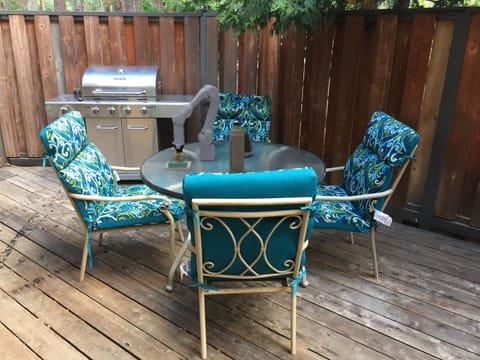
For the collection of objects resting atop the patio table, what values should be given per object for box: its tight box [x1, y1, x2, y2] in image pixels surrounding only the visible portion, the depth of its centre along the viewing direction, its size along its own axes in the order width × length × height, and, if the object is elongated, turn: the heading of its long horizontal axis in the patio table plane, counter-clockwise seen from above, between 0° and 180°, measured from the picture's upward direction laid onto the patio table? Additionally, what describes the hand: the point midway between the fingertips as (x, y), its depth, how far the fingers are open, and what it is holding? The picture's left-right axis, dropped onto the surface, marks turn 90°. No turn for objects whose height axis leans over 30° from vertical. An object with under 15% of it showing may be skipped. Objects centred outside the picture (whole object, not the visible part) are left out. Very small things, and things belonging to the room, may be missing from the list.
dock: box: [164, 158, 192, 171], centre depth 235 cm, size 14×12×4 cm
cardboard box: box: [173, 152, 184, 163], centre depth 237 cm, size 4×6×5 cm
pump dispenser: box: [243, 131, 253, 158], centre depth 254 cm, size 10×10×15 cm
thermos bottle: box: [229, 121, 245, 174], centre depth 221 cm, size 8×8×28 cm
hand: (179, 157), depth 244 cm, fingers closed
